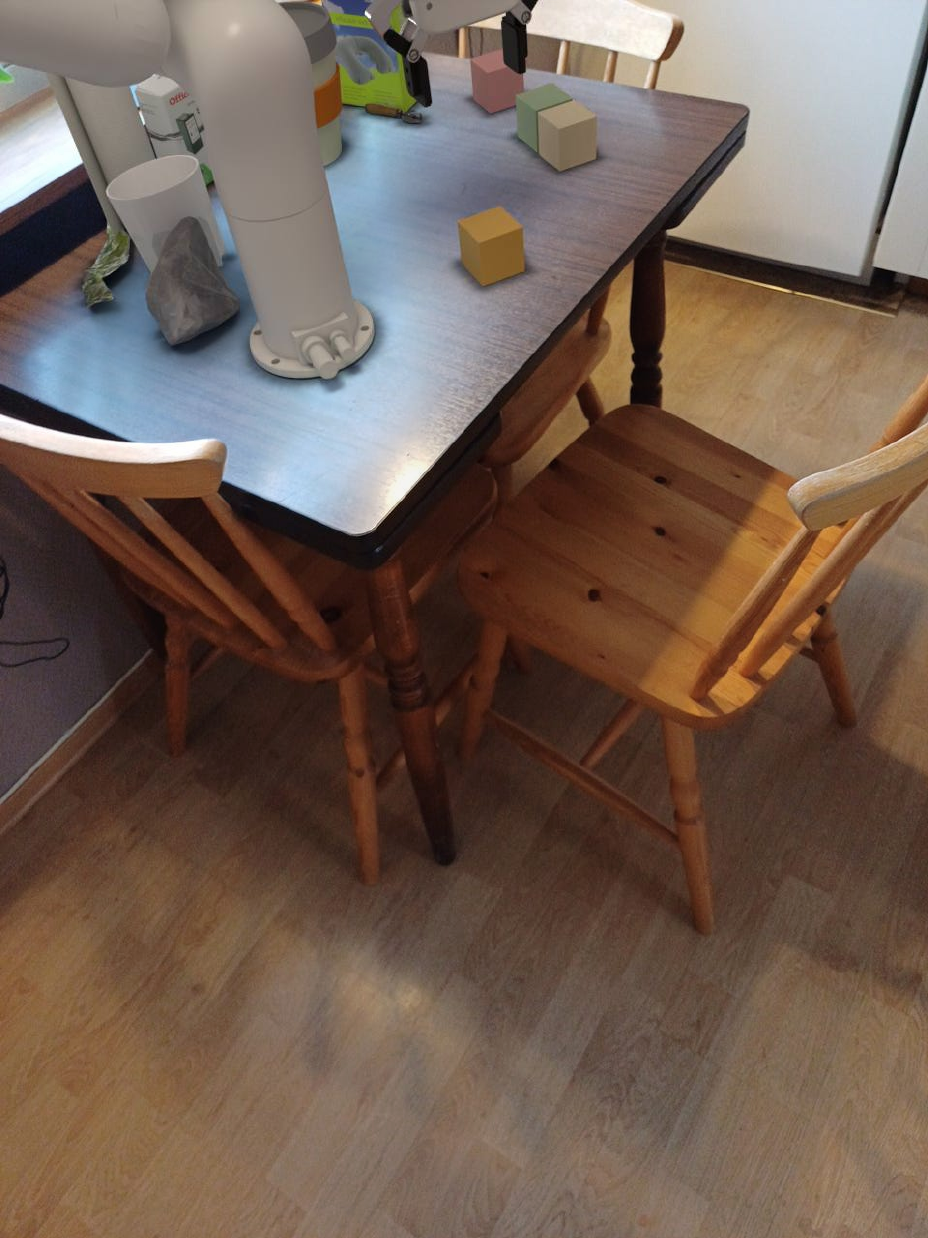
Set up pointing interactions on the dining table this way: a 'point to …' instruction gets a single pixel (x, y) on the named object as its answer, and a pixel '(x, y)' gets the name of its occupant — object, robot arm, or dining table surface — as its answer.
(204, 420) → the dining table surface
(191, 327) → the stone
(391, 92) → the box
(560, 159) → the block
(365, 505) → the dining table surface
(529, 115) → the block
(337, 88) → the reusable coffee cup
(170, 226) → the cup
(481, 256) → the ochre block
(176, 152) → the ink box
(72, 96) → the paper towel roll
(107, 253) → the green crumpled strip
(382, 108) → the can opener
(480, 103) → the block
